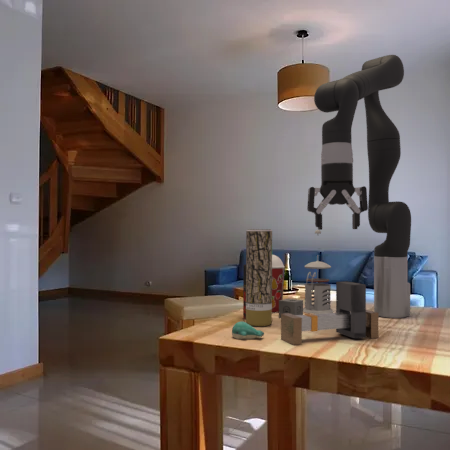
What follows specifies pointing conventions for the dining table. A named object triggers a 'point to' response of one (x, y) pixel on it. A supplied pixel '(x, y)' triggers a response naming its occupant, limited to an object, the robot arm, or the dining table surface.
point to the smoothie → (277, 282)
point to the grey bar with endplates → (322, 324)
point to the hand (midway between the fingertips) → (337, 229)
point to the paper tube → (259, 277)
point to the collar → (352, 307)
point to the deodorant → (244, 292)
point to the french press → (317, 290)
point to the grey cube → (291, 307)
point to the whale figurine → (245, 331)
